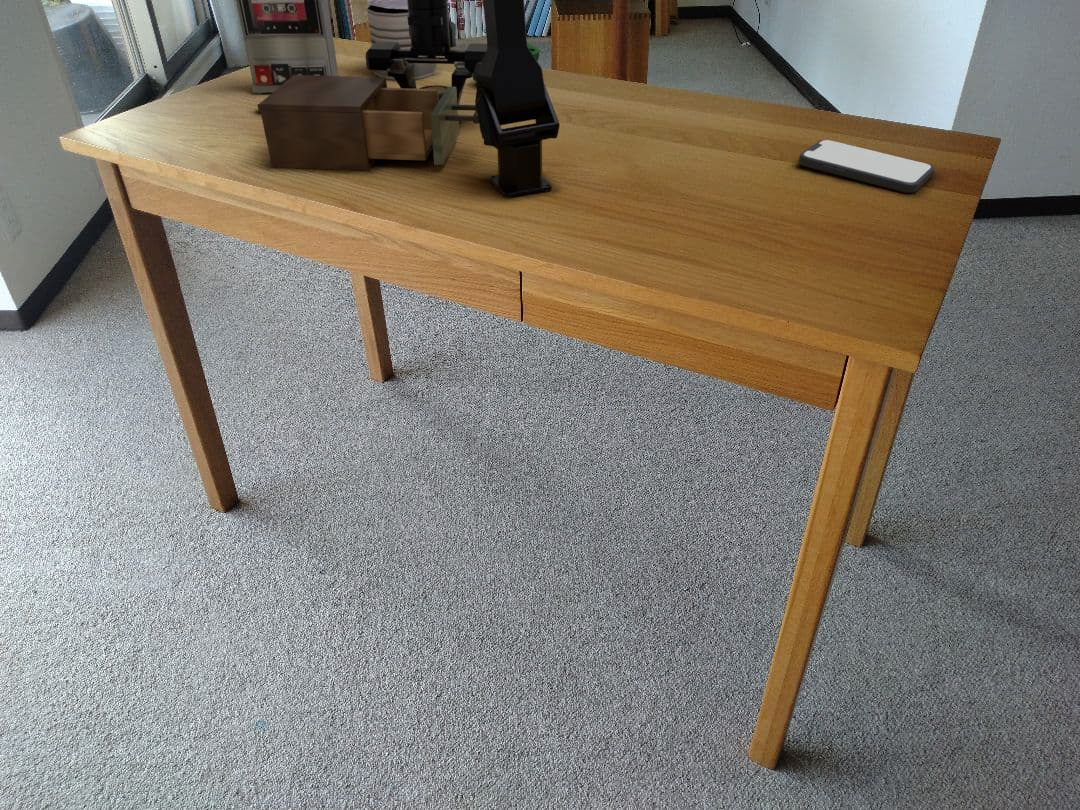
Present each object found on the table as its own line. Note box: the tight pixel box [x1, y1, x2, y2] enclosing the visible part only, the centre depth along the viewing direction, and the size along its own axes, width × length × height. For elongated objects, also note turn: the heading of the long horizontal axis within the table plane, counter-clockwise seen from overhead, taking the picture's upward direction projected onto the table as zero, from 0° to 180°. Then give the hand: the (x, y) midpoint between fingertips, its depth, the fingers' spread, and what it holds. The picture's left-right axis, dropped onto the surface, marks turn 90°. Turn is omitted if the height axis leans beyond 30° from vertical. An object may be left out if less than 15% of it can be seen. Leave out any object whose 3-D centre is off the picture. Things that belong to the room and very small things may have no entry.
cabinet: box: [258, 75, 388, 172], centre depth 116 cm, size 14×14×9 cm
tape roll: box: [418, 84, 449, 100], centre depth 127 cm, size 6×6×5 cm
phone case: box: [798, 139, 935, 194], centre depth 111 cm, size 9×2×16 cm
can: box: [366, 0, 437, 81], centre depth 147 cm, size 11×11×12 cm
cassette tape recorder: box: [235, 0, 341, 95], centre depth 135 cm, size 14×6×25 cm, turn 92°
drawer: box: [362, 86, 479, 166], centre depth 115 cm, size 17×12×7 cm
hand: (436, 115), depth 128 cm, fingers closed on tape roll, 5 cm apart
